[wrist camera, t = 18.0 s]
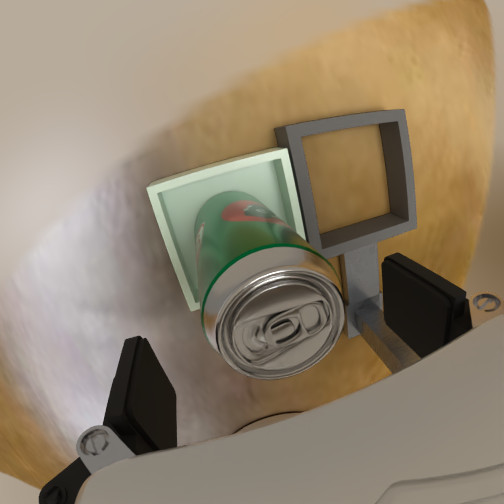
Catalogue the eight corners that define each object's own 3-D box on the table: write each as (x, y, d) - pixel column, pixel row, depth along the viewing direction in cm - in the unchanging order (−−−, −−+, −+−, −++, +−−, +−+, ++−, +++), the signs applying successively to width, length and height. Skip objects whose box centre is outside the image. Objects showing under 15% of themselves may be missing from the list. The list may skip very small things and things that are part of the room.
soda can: (181, 209, 19) (173, 300, 8) (253, 177, 20) (337, 227, 9) (212, 274, 21) (241, 405, 10) (279, 245, 22) (365, 349, 10)
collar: (398, 219, 24) (416, 228, 21) (300, 250, 23) (312, 263, 20) (384, 110, 20) (404, 109, 18) (274, 128, 19) (285, 126, 17)
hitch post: (377, 319, 27) (470, 421, 14) (343, 333, 27) (430, 449, 14) (373, 233, 24) (509, 322, 10) (334, 245, 23) (464, 356, 10)
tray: (299, 260, 23) (311, 273, 21) (190, 293, 22) (190, 311, 20) (275, 147, 20) (287, 148, 17) (151, 182, 19) (146, 187, 17)
